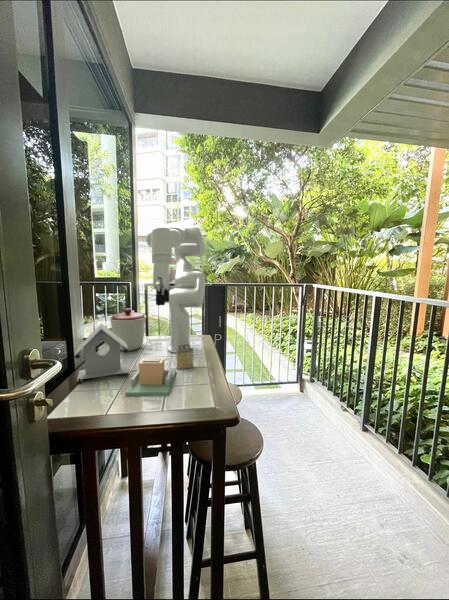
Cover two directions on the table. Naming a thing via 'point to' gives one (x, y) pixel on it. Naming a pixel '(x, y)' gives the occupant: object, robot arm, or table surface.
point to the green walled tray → (151, 386)
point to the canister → (129, 328)
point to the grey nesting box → (102, 363)
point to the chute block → (151, 371)
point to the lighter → (184, 357)
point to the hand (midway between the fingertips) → (162, 303)
